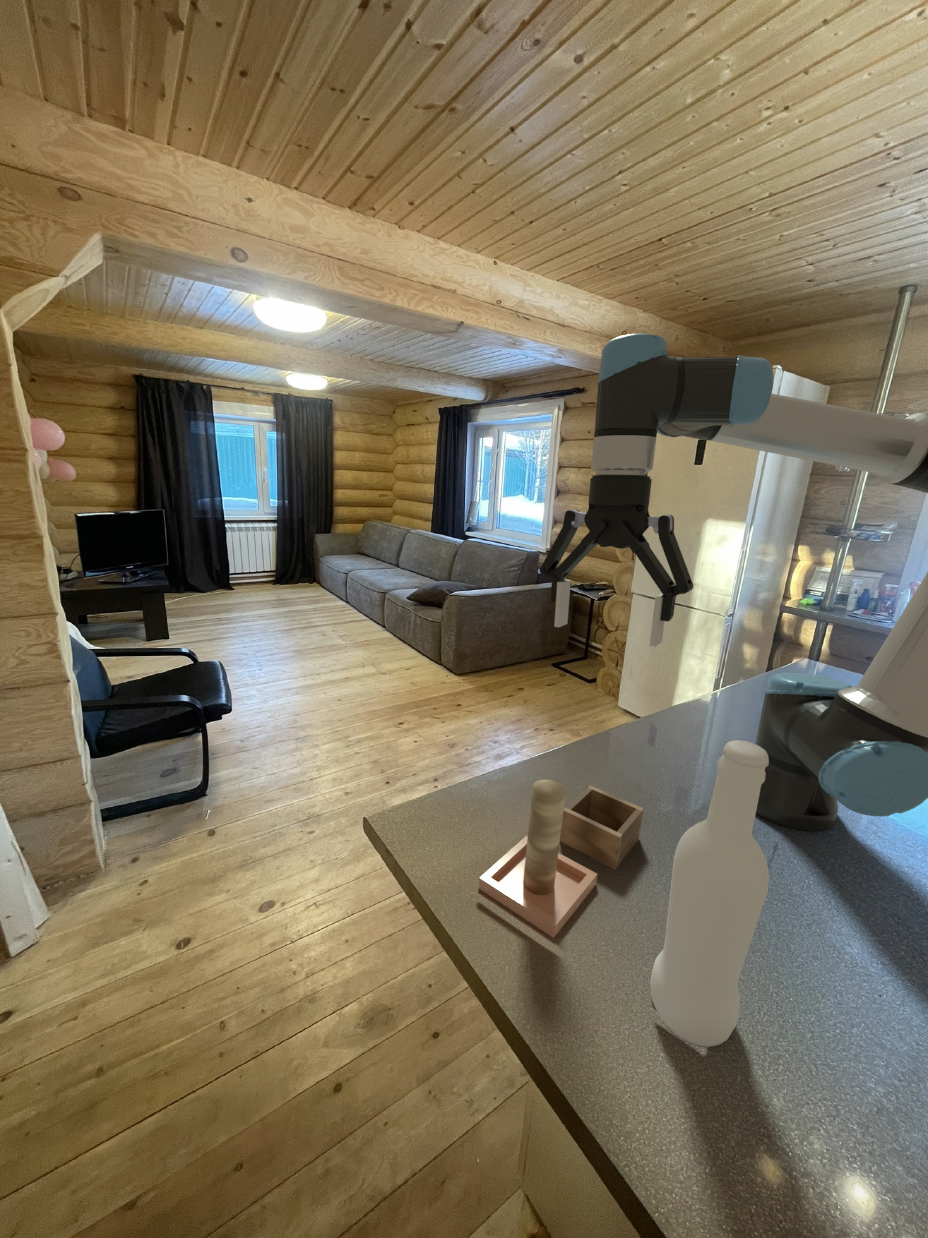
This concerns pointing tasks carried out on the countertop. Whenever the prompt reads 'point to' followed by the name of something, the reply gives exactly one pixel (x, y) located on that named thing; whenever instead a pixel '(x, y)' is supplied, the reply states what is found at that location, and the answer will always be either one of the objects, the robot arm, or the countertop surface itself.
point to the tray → (536, 909)
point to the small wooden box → (601, 826)
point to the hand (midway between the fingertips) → (605, 634)
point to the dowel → (543, 836)
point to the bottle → (714, 905)
